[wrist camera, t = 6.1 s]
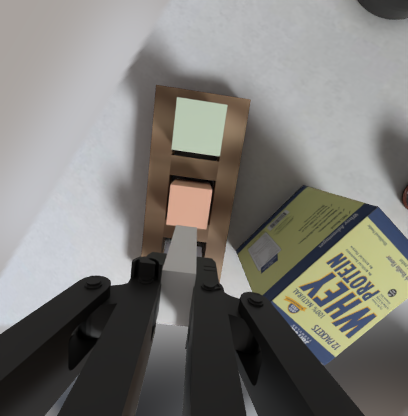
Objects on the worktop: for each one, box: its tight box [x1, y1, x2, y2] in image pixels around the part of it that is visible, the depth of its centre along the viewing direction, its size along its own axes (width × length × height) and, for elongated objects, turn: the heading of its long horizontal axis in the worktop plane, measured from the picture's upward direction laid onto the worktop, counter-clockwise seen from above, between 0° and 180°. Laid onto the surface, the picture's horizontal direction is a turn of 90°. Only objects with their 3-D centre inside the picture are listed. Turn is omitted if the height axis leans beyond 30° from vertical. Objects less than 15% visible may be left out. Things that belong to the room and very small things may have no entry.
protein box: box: [236, 185, 408, 365], centre depth 31 cm, size 10×16×16 cm
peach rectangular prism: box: [166, 178, 212, 229], centre depth 32 cm, size 5×5×7 cm
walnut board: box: [141, 85, 251, 283], centre depth 34 cm, size 28×12×4 cm, turn 172°
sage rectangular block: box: [172, 97, 228, 156], centre depth 27 cm, size 5×5×7 cm
